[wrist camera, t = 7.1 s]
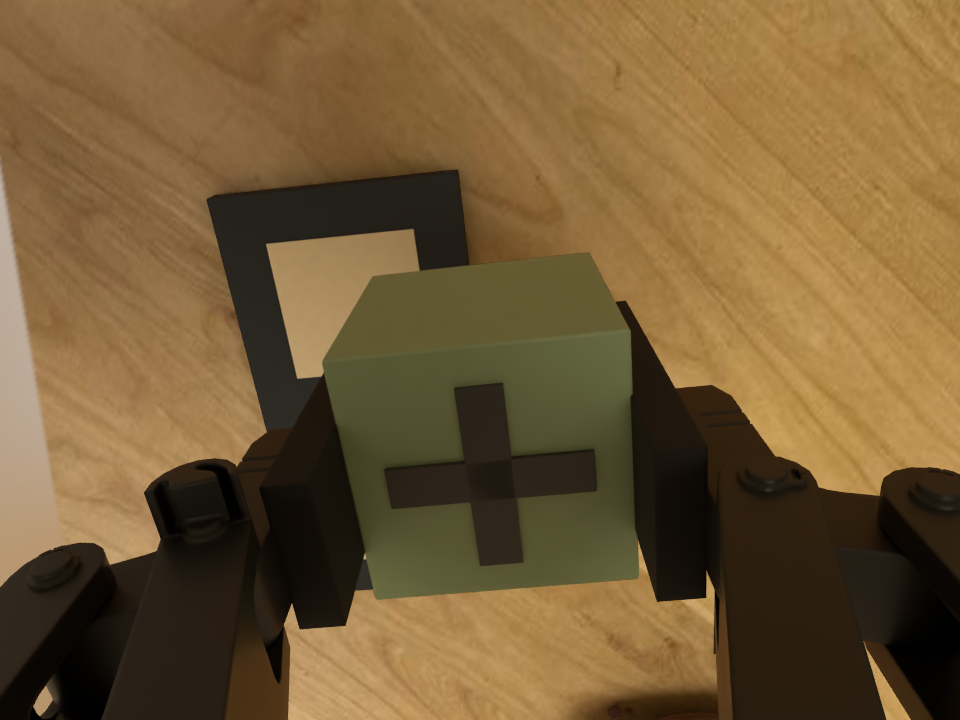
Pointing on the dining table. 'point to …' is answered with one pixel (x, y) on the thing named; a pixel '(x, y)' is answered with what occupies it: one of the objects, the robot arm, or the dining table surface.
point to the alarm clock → (615, 713)
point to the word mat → (325, 269)
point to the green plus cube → (488, 427)
